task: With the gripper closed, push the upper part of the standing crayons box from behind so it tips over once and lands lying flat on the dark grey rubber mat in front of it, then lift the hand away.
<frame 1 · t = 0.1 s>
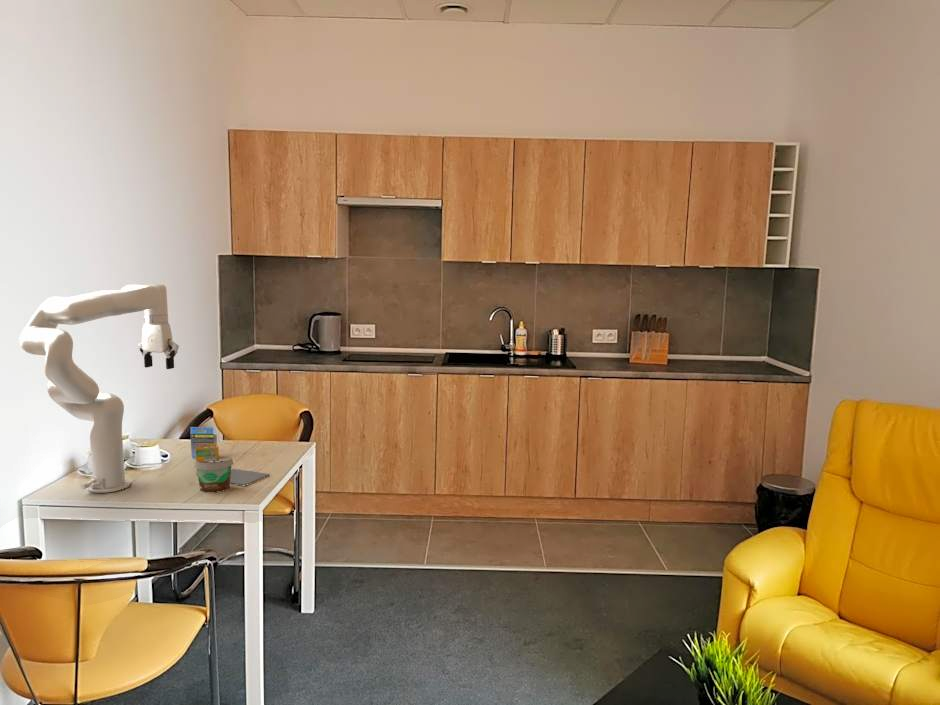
hand: (159, 367, 265), 37 cm above the table, tool pointing down, fingers open, 9 cm apart
label tape box: (204, 458, 283), on the table
mat: (238, 478, 258), on the table
food container: (214, 491, 245), on the table
crayon box: (208, 475, 262), on the table
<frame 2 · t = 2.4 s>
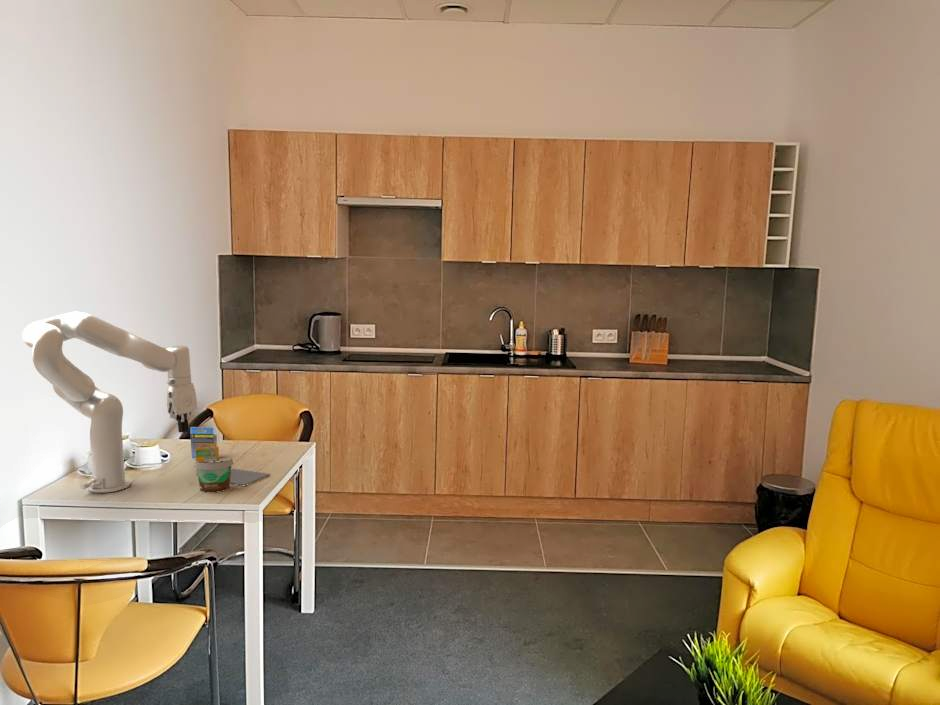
hand: (183, 431, 265), 14 cm above the table, tool pointing down, fingers closed
nothing on the table moved.
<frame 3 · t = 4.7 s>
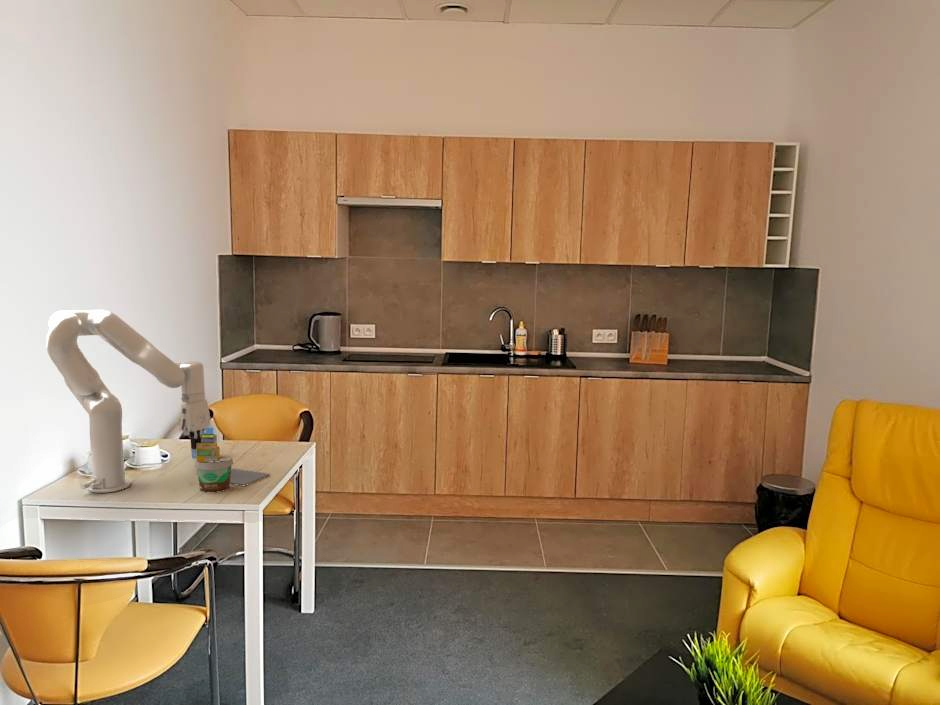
hand: (196, 448, 263), 9 cm above the table, tool pointing down, fingers closed
crayon box: (208, 474, 262), on the table, touching gripper
everything else where it was.
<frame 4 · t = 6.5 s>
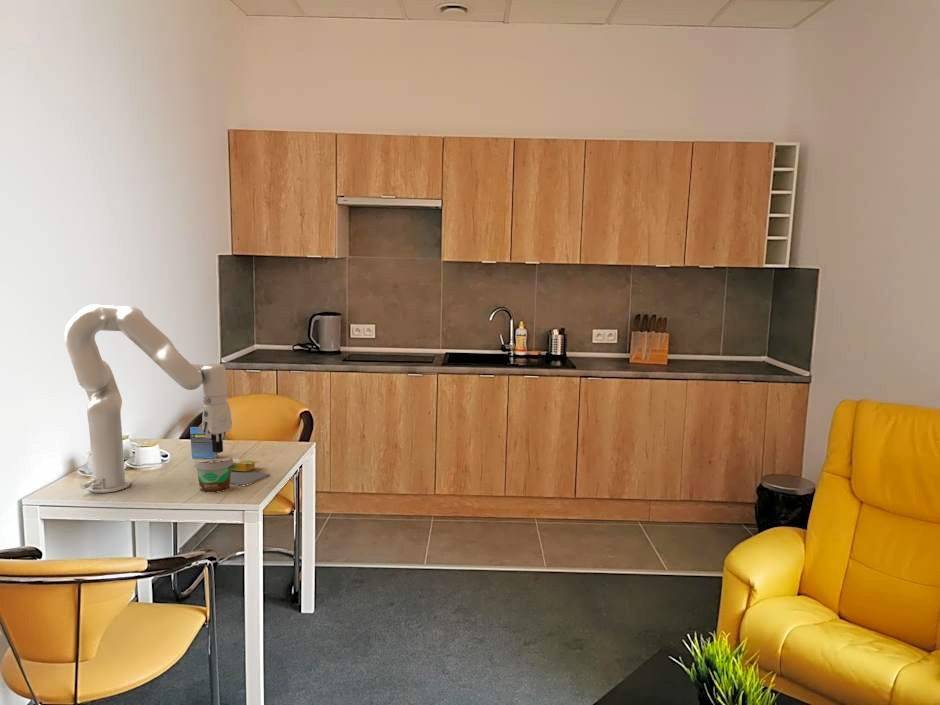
hand: (217, 451, 259), 9 cm above the table, tool pointing down, fingers closed
crayon box: (224, 464, 268), point 2 cm above the table, touching mat
everything else where it was.
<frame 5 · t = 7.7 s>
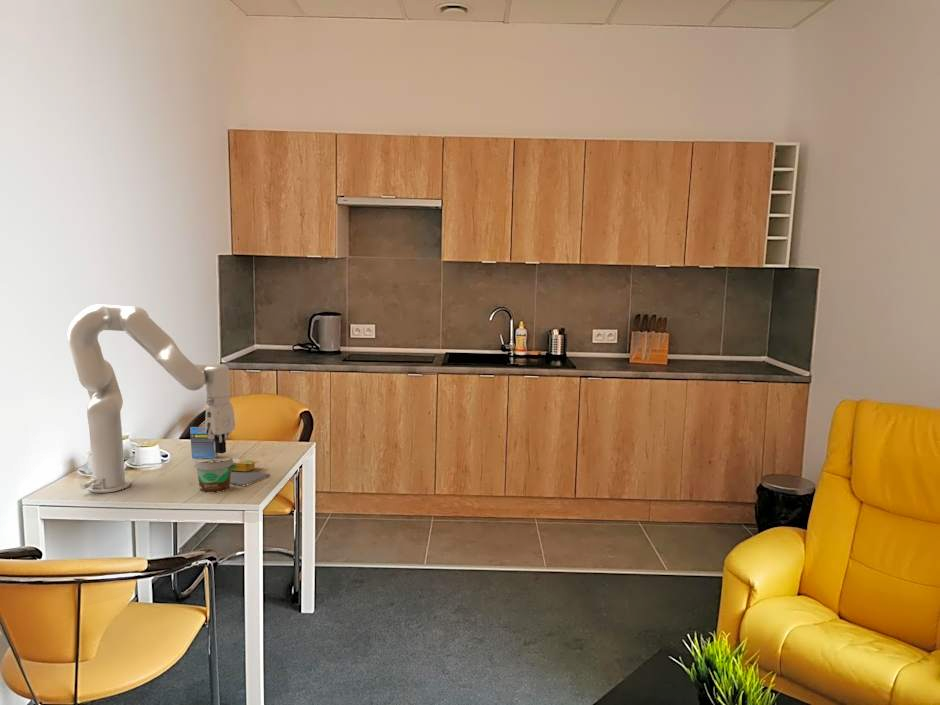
hand: (220, 452, 259), 9 cm above the table, tool pointing down, fingers closed
nothing on the table moved.
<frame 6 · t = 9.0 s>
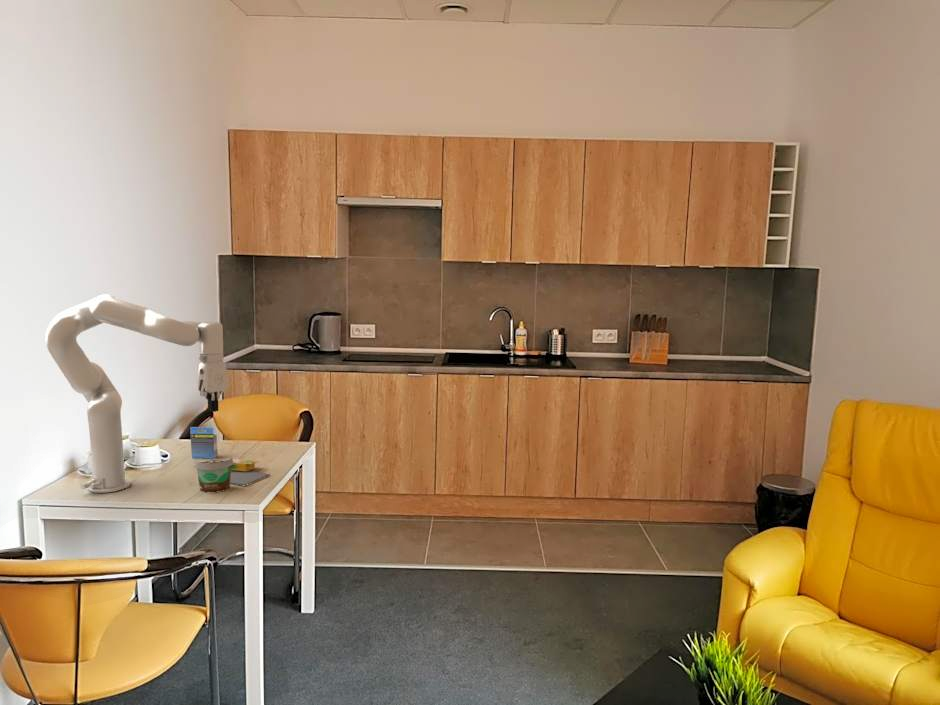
hand: (213, 410, 257), 23 cm above the table, tool pointing down, fingers closed
nothing on the table moved.
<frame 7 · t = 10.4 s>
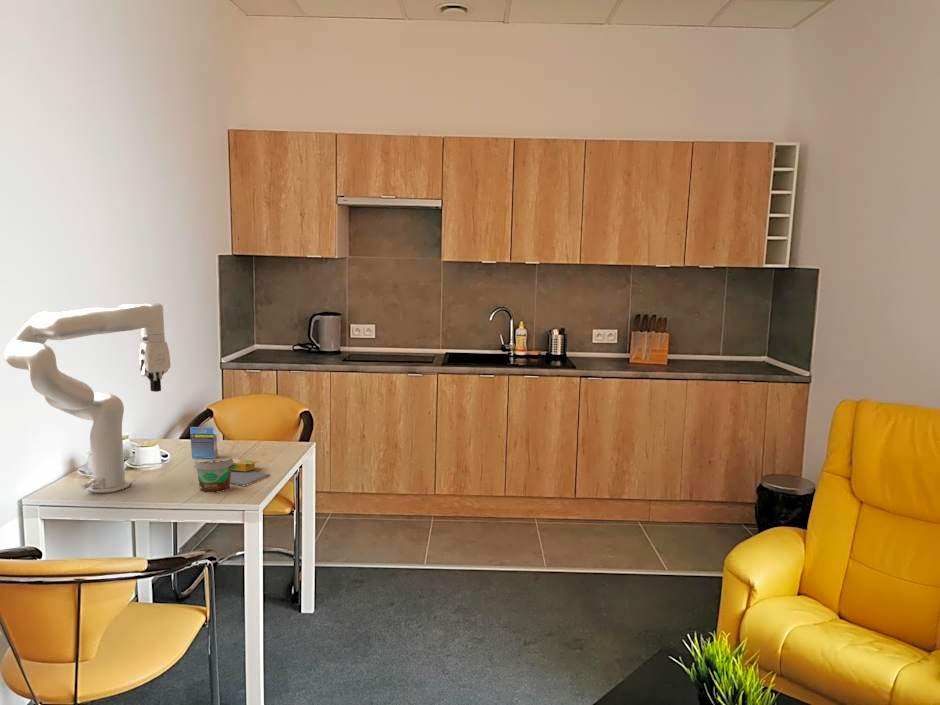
hand: (155, 390, 261), 29 cm above the table, tool pointing down, fingers closed
nothing on the table moved.
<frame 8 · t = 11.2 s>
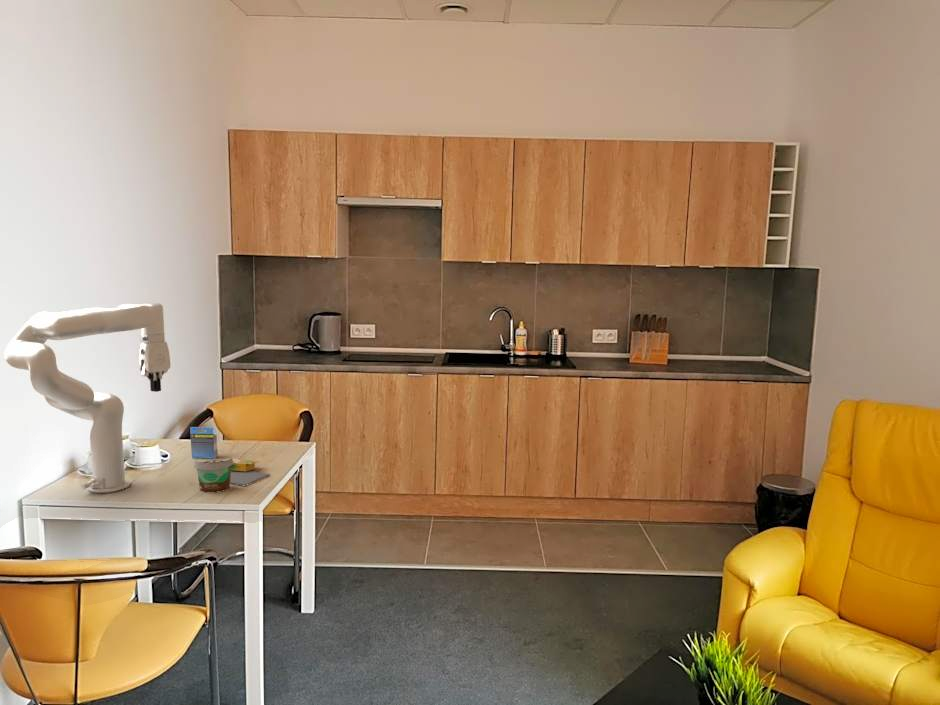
hand: (155, 390, 261), 29 cm above the table, tool pointing down, fingers closed
nothing on the table moved.
at the end: crayon box tilted 91°; crayon box touching mat, table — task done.
